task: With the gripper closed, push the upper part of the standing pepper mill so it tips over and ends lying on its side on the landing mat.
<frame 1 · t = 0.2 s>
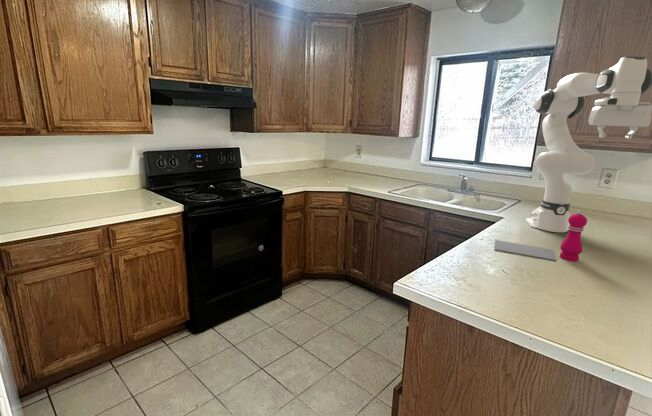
hand: (614, 138, 137), 47 cm above the counter, tool pointing down, fingers open, 8 cm apart
pepper mill: (568, 259, 140), on the counter
landing mat: (523, 250, 147), on the counter
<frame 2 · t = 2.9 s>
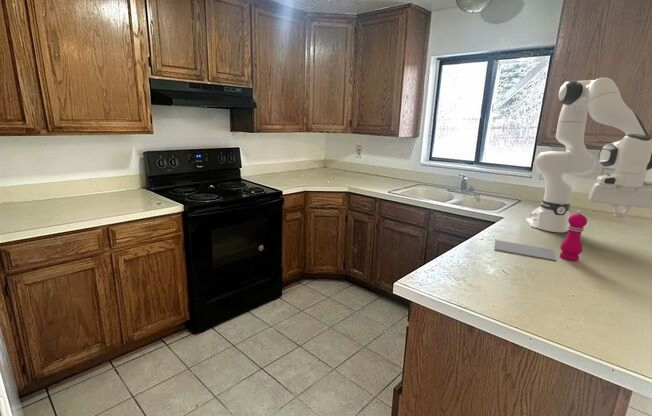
hand: (618, 217, 130), 19 cm above the counter, tool pointing down, fingers closed
nothing on the counter moved.
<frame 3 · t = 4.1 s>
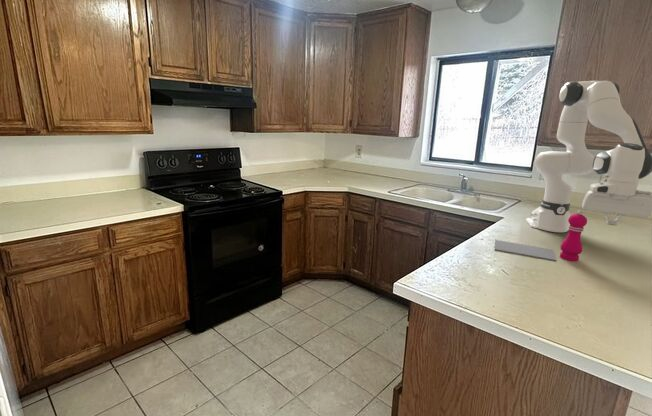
hand: (611, 224, 132), 16 cm above the counter, tool pointing down, fingers closed
nothing on the counter moved.
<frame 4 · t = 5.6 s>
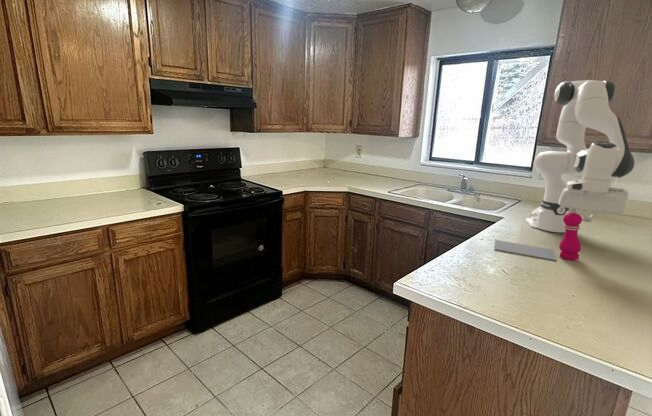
hand: (586, 221, 135), 16 cm above the counter, tool pointing down, fingers closed
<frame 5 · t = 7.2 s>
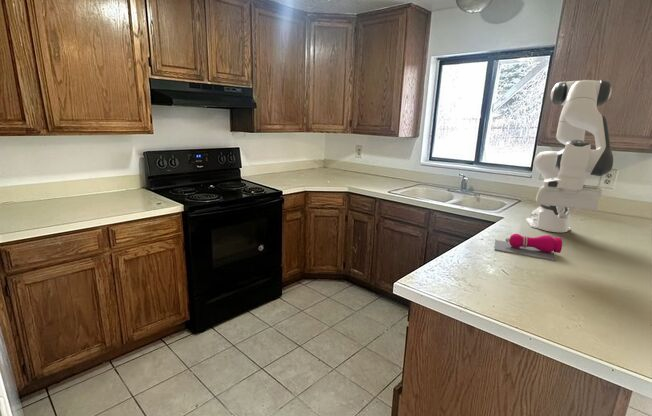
hand: (562, 217, 138), 16 cm above the counter, tool pointing down, fingers closed
pepper mill: (560, 245, 142), point 4 cm above the counter, touching landing mat
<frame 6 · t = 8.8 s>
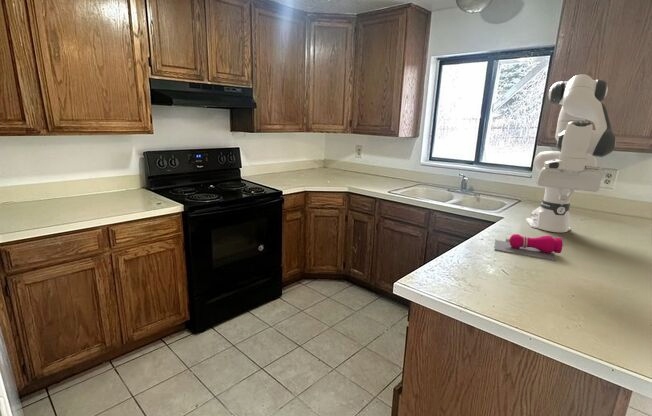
hand: (563, 199, 137), 23 cm above the counter, tool pointing down, fingers closed
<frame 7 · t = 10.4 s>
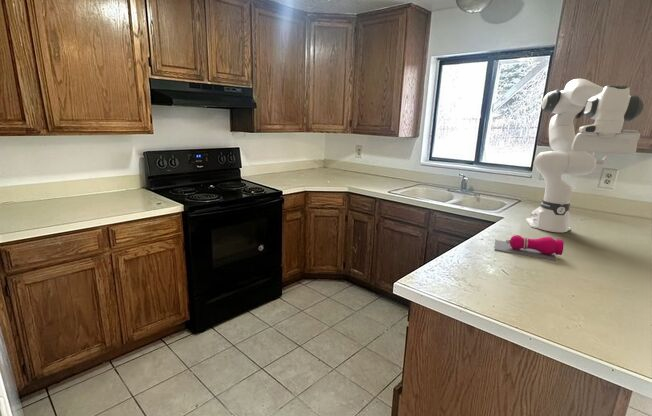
hand: (598, 164, 139), 37 cm above the counter, tool pointing down, fingers closed
pepper mill: (562, 247, 140), point 4 cm above the counter, touching landing mat
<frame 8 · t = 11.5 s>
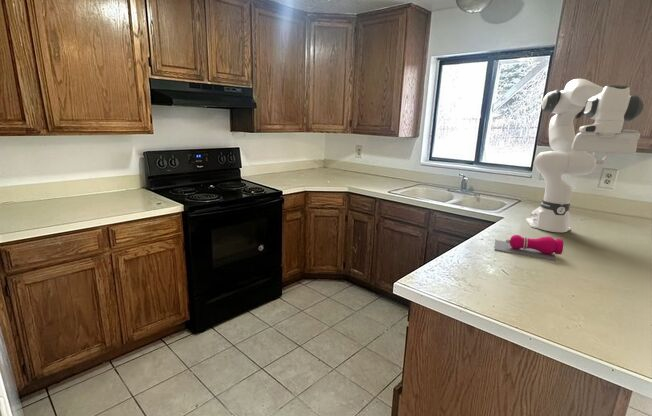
hand: (598, 164, 139), 37 cm above the counter, tool pointing down, fingers closed
at the end: pepper mill tilted 93°; pepper mill touching landing mat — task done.
